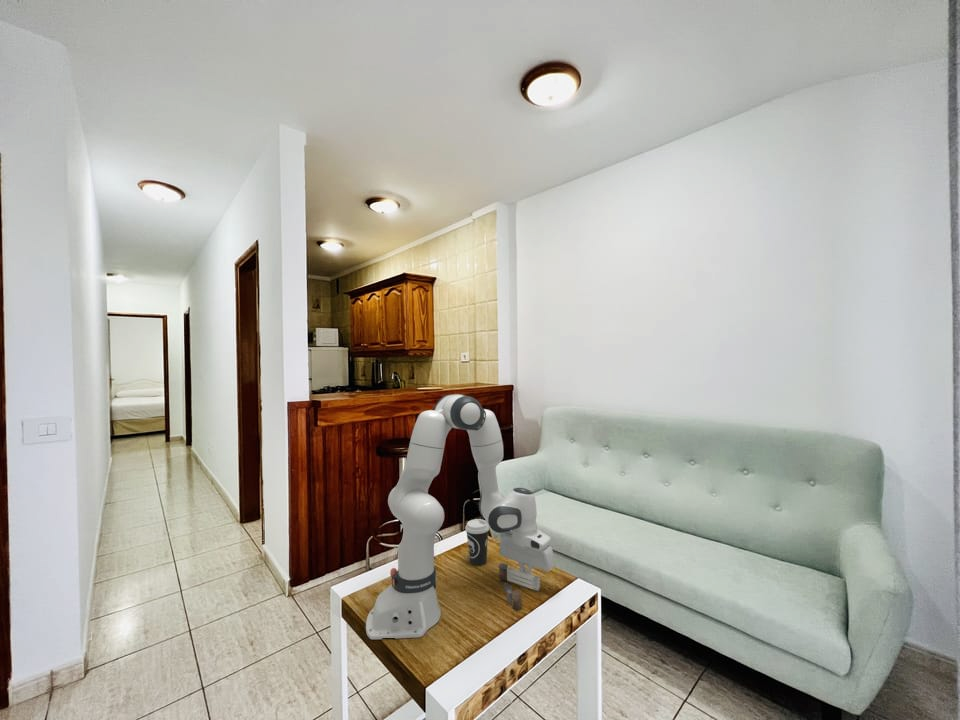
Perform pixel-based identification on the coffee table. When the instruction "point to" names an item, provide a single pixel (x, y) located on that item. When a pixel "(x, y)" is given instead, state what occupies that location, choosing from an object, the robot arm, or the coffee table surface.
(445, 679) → the coffee table surface
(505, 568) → the hinge post
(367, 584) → the coffee table surface
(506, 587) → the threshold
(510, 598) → the brown rounded cylinder
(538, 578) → the white long block
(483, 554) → the coffee cup
